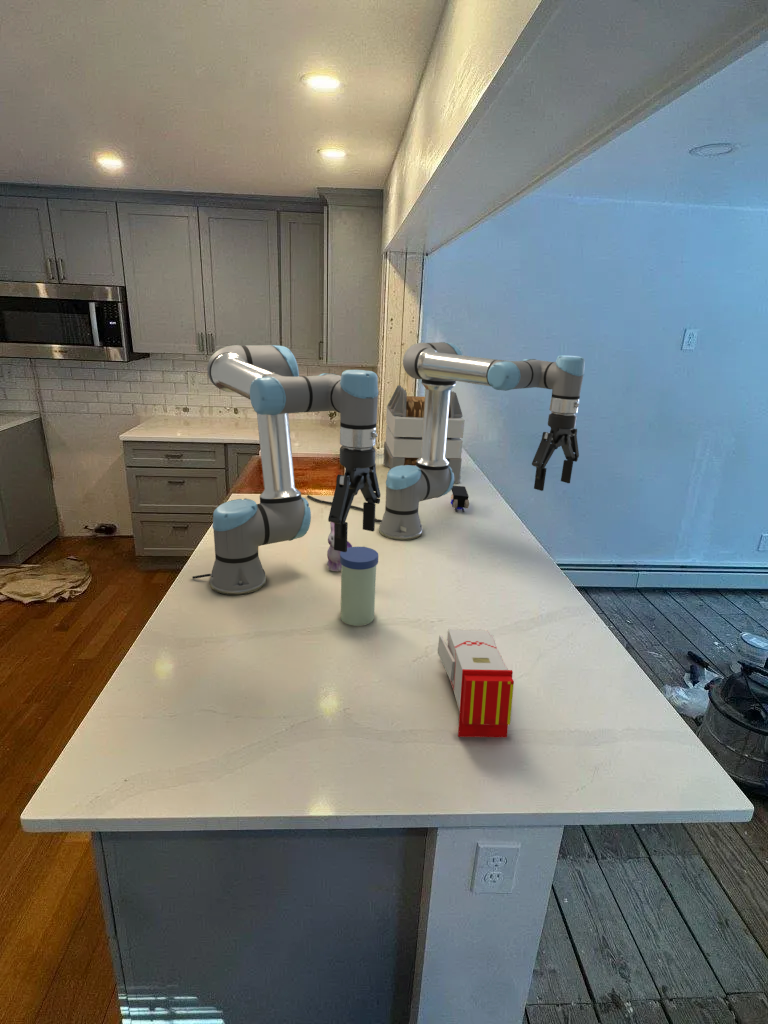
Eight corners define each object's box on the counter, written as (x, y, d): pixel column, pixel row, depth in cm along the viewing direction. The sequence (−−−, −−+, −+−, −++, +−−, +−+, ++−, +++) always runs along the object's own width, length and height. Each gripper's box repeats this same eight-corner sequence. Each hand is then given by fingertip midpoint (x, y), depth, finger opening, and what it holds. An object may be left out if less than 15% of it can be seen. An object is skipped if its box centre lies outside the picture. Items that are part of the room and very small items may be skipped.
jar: (349, 629, 140) (351, 565, 134) (335, 613, 147) (336, 552, 141) (380, 621, 144) (382, 559, 138) (364, 606, 151) (366, 546, 145)
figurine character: (469, 517, 223) (463, 501, 236) (471, 500, 219) (465, 484, 233) (452, 516, 222) (447, 500, 236) (454, 499, 219) (449, 483, 232)
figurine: (332, 575, 167) (332, 527, 162) (319, 561, 175) (319, 516, 170) (361, 569, 171) (362, 523, 166) (347, 556, 179) (348, 512, 174)
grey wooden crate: (382, 463, 289) (386, 382, 275) (445, 464, 293) (451, 384, 279) (390, 482, 257) (394, 392, 243) (460, 483, 261) (468, 394, 247)
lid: (350, 572, 134) (350, 564, 133) (333, 557, 141) (333, 550, 141) (384, 565, 138) (385, 558, 138) (366, 551, 146) (367, 544, 145)
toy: (488, 613, 130) (523, 677, 101) (484, 667, 133) (517, 744, 104) (435, 612, 130) (455, 676, 101) (432, 666, 133) (451, 743, 103)
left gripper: (345, 461, 107) (343, 564, 114) (397, 437, 128) (393, 525, 135) (311, 456, 109) (311, 556, 117) (367, 433, 131) (364, 519, 138)
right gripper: (548, 419, 148) (537, 496, 155) (598, 411, 163) (586, 482, 171) (525, 414, 153) (515, 489, 160) (575, 407, 169) (564, 476, 176)
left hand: (355, 539), depth 126 cm, fingers open, 13 cm apart
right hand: (552, 485), depth 166 cm, fingers open, 13 cm apart
